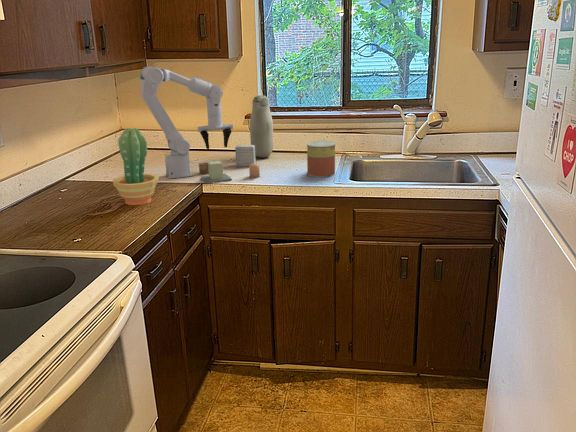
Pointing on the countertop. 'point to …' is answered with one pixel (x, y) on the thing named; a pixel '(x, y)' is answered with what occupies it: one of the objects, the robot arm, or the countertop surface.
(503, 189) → the countertop surface
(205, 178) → the slate mat
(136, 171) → the potted cactus
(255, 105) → the grey-green bottle
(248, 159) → the medicine box
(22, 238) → the countertop surface
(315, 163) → the canned food
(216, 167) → the sage green block
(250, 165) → the terracotta capsule
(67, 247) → the countertop surface
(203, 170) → the walnut cube
